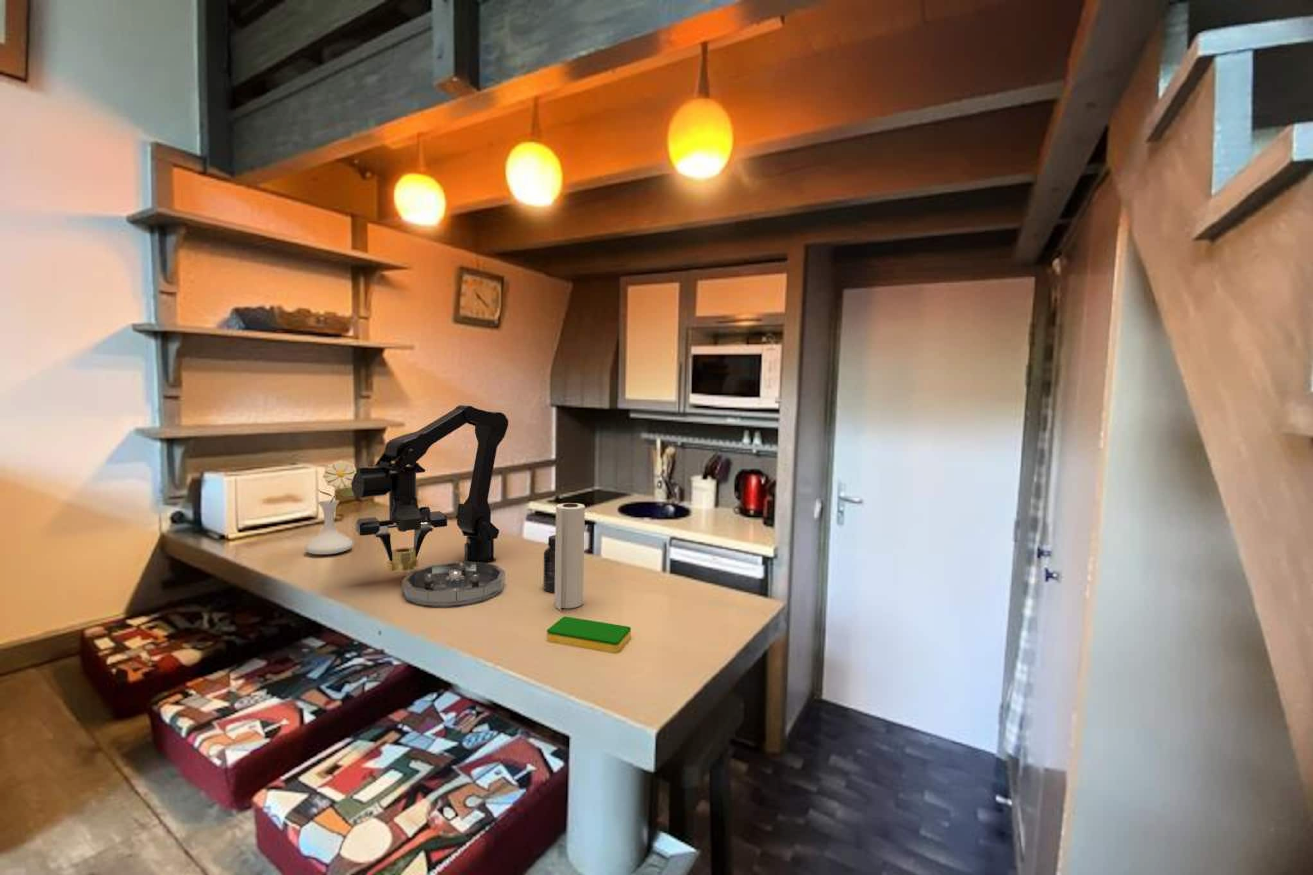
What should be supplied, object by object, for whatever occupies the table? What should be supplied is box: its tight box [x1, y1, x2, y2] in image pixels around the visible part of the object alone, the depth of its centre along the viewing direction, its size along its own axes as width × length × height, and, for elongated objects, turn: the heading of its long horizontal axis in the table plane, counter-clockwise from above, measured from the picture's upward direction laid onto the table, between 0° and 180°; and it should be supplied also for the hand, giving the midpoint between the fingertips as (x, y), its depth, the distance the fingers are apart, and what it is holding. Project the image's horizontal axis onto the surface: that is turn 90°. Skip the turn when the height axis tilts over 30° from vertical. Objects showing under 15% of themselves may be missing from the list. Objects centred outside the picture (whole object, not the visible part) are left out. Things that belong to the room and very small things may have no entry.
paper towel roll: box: [554, 502, 586, 613], centre depth 118 cm, size 7×6×21 cm
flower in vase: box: [304, 460, 357, 555], centre depth 150 cm, size 13×11×25 cm
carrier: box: [401, 561, 506, 608], centre depth 125 cm, size 21×21×4 cm
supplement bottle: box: [542, 534, 556, 594], centre depth 128 cm, size 7×7×12 cm
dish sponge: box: [546, 616, 632, 654], centre depth 102 cm, size 7×14×2 cm, turn 72°
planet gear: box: [387, 546, 419, 573], centre depth 131 cm, size 6×6×4 cm
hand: (403, 558), depth 131 cm, fingers closed on planet gear, 5 cm apart
